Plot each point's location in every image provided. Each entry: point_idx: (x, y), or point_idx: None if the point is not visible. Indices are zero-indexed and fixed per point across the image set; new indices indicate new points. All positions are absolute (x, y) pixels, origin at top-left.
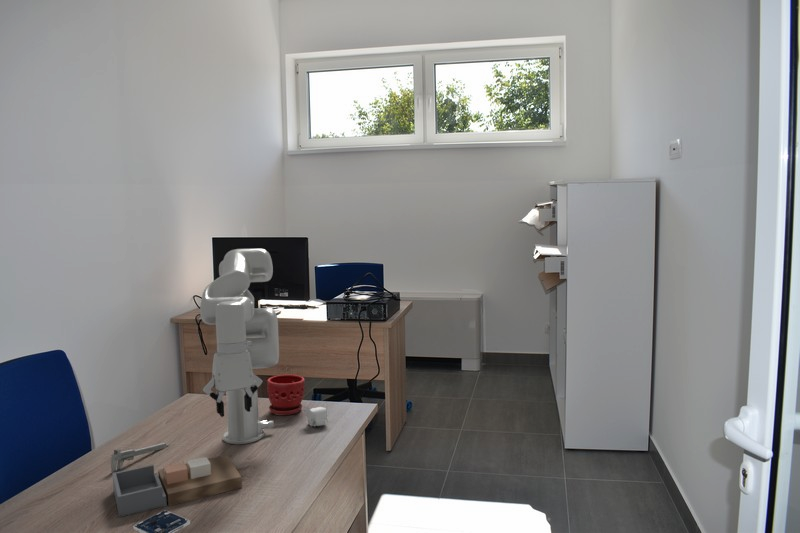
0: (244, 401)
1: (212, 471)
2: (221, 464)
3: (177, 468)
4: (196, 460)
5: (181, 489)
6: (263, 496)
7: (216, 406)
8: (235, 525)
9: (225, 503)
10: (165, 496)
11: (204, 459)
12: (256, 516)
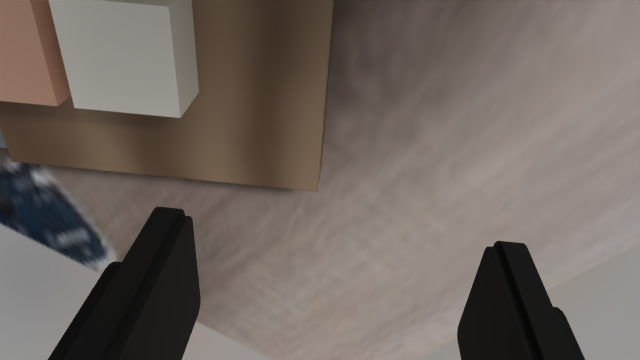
0: (511, 326)
1: (211, 64)
2: (274, 3)
3: (2, 71)
4: (107, 26)
5: (63, 155)
6: (360, 258)
7: (80, 309)
8: (231, 335)
9: (234, 229)
10: (6, 147)
11: (154, 44)
12: (295, 331)
